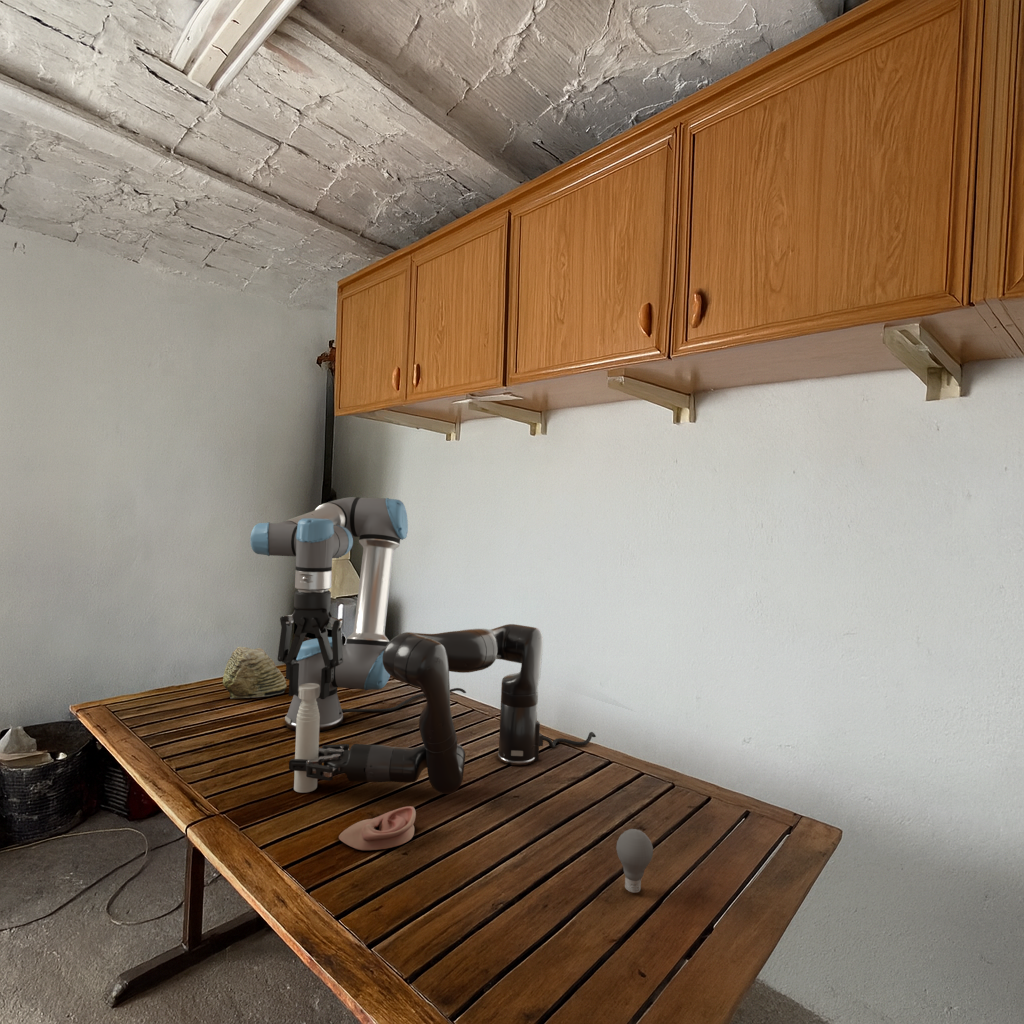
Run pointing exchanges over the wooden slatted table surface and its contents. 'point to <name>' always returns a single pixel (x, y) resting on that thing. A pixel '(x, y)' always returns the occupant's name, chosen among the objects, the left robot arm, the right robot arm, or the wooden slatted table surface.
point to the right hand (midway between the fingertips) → (294, 759)
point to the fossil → (252, 674)
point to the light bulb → (634, 857)
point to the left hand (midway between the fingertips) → (309, 695)
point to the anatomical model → (381, 830)
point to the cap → (309, 691)
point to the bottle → (306, 742)
